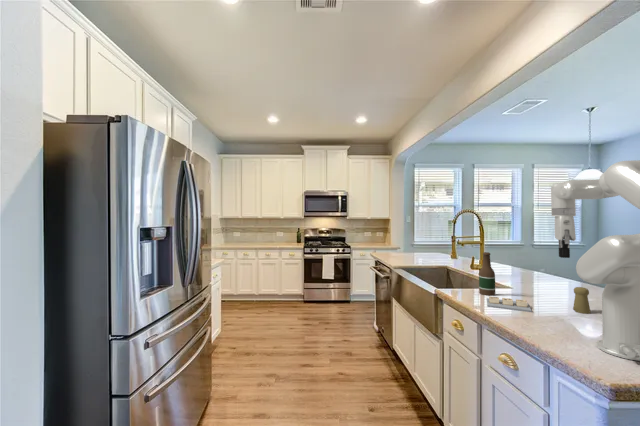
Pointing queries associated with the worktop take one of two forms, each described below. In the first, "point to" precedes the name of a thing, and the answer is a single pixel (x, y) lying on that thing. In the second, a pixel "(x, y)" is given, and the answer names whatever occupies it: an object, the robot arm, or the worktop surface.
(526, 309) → the board
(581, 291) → the cork
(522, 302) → the key
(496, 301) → the key
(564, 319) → the worktop surface
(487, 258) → the beer bottle
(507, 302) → the key
